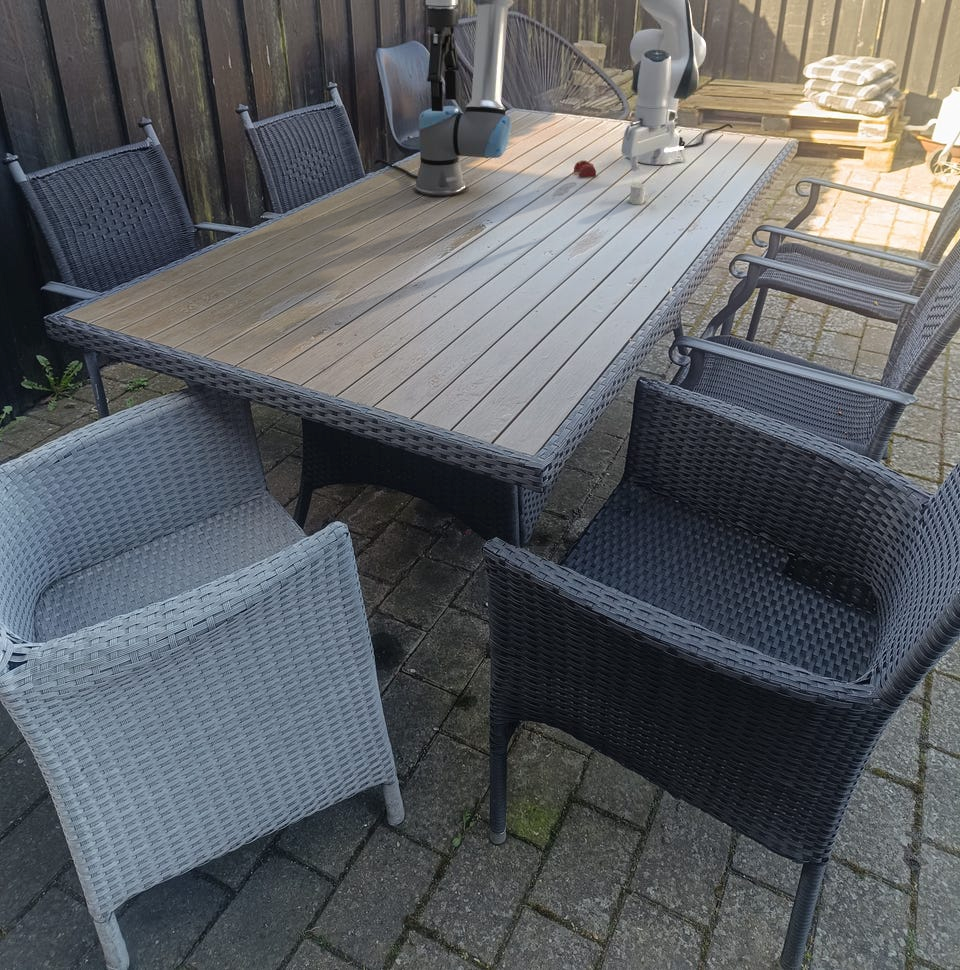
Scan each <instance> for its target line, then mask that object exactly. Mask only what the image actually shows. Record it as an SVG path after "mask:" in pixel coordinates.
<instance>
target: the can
mask: <svg viewBox="0 0 960 970" xmlns="http://www.w3.org/2000/svg"><path fill="white" fill-rule="evenodd" d="M629 192H630V193H629V201H628V202H629V203H630V204H633V205H641V204H643V203H644V201H645V193H646V185H645V184H643V183H632V184H630V191H629Z"/></svg>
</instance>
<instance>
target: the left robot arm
mask: <svg viewBox="0 0 960 970" xmlns="http://www.w3.org/2000/svg"><path fill="white" fill-rule="evenodd" d="M472 2H473V3H474V5H475V6H476V22H475V23H476V24H475V38H474V54H473V70H472V71H473V72H472V73H473V74H472V87H471V100H470V102H468V103H467V104H466V106H465V113H463V112H460V110H459V108H458V106H455V105H445V106H444V99H445V100H450V101H457V71H460V65H459V60H458V52H457V46H456V45H457V44H456V37H455V27H458V26H459V9H458V7H456V6H458V5H459V0H425V5H426V6H427V8H426V9H425V17H426V19H425V20H426V21H425V22H426V26H427V27H429V28H434V33H430V36H429V37H430V46H429V59H428V72H427V77H426V82H428V83H430V99H431V103H430V104H431V108H429V109H426V110H423V111H422V112H421V113H420V114H419V117H418V118H419V119H418V120H419V121H418V136H419V138H418V139H419V157H420V158H419V159H420V161H419V162H420V164H419V168H418V172H417V175H416V174H413V173H411V172H410V171H408V170H406V169H404V168H403V167H400V166H397V165H396V164H392V163H390V162H389V161H386V160H385V159H383V158H377V159H376V160H375V161H374V163H373V164H375V165H377V164H378V163H382V164H384V165H385V166H388V167H390V168H392V169H395V170H397V171H399V172H401V173H403V174H405V175H407V176H408V177H410V178H413V179H416V180H415V185H414V186H415V192H417V193H418V194H420V195H424V196H430V197H450V196H455V195H459V194H461V193H463V192H464V191H466V181H465V179H464V176H463V172H462V169H461V165H460V157H469V158H470V157H472V158H482V159H483V158H484V159H489V158H490V159H499V158H501V157H502V156H503V155H504V154H505V152H506V149H507V147H508V144H509V140H510V135H511V129H512V128H511V127H512V126H511V123H512V121H511V117H510V116H509V115H507V114H506V112H507V110H506V108H505V107H504V105H503V104H502V93H503V82H504V81H503V80H504V69H505V67H504V66H505V52H506V41H507V26H508V12H509V8H511V7H512V6H513V5H514V2H515V0H472ZM444 67H445V70H444ZM443 71H444V81H442V77H443ZM443 82H444V83H443ZM443 84H444V85H443ZM444 97H445V98H444ZM392 165H394V166H392Z"/></svg>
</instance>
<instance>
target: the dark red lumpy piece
mask: <svg viewBox="0 0 960 970" xmlns="http://www.w3.org/2000/svg"><path fill="white" fill-rule="evenodd" d="M573 173H574V174H575V173H578V177H579V178H589V177H590V178H591V177H596V176H597V170H596V167H595V165H594V164H593V163H591V162H588V160H579V161H578V162H576V163H575V164H574V167H573Z"/></svg>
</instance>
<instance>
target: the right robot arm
mask: <svg viewBox="0 0 960 970" xmlns="http://www.w3.org/2000/svg"><path fill="white" fill-rule="evenodd" d="M638 1H639V3H640V5H641V7H642V8H643V9H644V10H645V11H646V12H647V13H648V14H650V15H651V17H652V18H653V19H654V20H655V21H656V22H657V23H658V24H659V25H660V27H661V29H659V28H647V29H642V30H638V31H637V32H636V33H635V34H634V35H633V37H632V39H631V41H630V43H629V54H630V55H629V56H630V58H631V60H632V61H633V62H634V66H633V67H632V81H631V86H630V90H631V91H632V92H633V93H634V94H635V95H636V96H637V98H636V101H635V107H634V118H633V120H631V121H630V122H629V123H628V125H627V126H626V128H625V130H624V133H623V136H622V142H621V149H620V150H621V151H620V152H621V155H622V156H623V157H626V158H627V159H629V160H630V164H631V165H630V170H631V171H632V172H637V171H639V170H640V166H641V164H646V165H654V166H655V165H658V166H659V165H662V166H663V165H670V164H674V163H683V162H684V157H683V155H682V153H681V150H684V149H685V148H693V147H696V146H700V145H702V144H703V143H704V141H705V137H706V135H707V134H708V133H712V132H716V131H720V130H723V129H725V128H726V127H729V128H730V129H733V128H734V127H733V125H732V124H731V123H726V124H724V125H721V126H719V127H716V128H712V129H707V130H705V131H704V132H703V133H702V136H701V141H699V142H697V143H693V144H688V145H686V141H685V140H683V137H682V136H680V134H679V132H678V131H677V127H678V122H679V117H678V109H679V101H680V100H685V101H686V100H687V99H688V98H690V97H691V96H692V95H694V94H695V92H696V91H697V89H698V85H699V79H700V78H699V77H700V76H699V68H700V67H701V66H702V64H703V62H704V61H705V58H706V55H707V44H706V41H705V39H704V38H703V36H701V34H699V33H698V32H697V30H696V28H695V26H694V25H693V18H692V17H693V16H692V9H691V5H690V1H689V0H638ZM640 163H641V164H640Z"/></svg>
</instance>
